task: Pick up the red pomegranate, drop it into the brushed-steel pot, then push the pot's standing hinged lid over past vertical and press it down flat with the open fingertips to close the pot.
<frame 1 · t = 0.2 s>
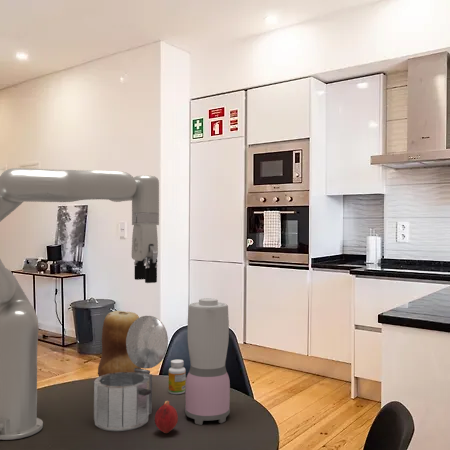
hand: (145, 281, 139), 37 cm above the table, tool pointing down, fingers open, 9 cm apart
lid: (146, 343, 141), point 19 cm above the table, hinge at 100.0°
butternut squash: (119, 391, 158), on the table
pot: (121, 420, 133), on the table
red pomegranate: (166, 433, 125), on the table
blender: (206, 415, 138), on the table
supplement bottle: (176, 392, 157), on the table
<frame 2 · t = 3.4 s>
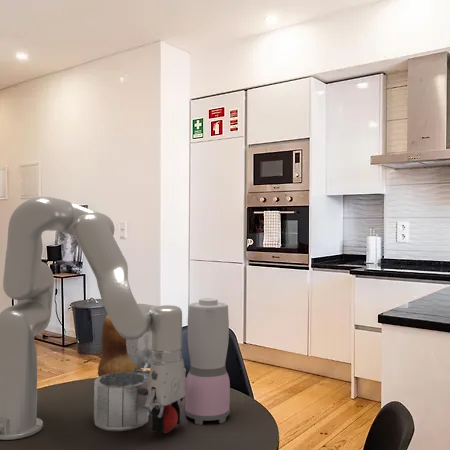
hand: (166, 426, 125), 2 cm above the table, tool pointing down, fingers closed on red pomegranate, 5 cm apart
red pomegranate: (166, 433, 125), on the table, touching gripper
everything else where it was.
when the fingers open (13 cm above the table, at t = 7.2 s): red pomegranate drops 10 cm, resting on pot.
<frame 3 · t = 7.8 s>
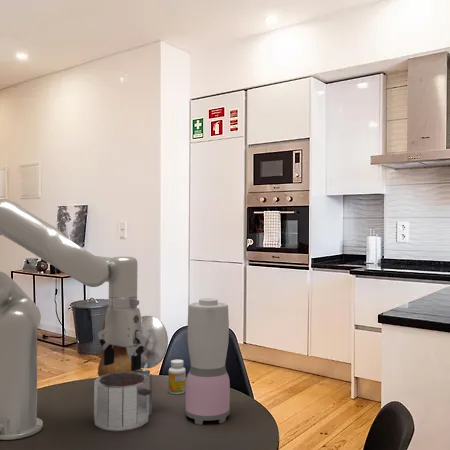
hand: (122, 367, 133), 14 cm above the table, tool pointing down, fingers open, 9 cm apart
red pomegranate: (119, 414, 133), point 2 cm above the table, touching pot
everything else where it was.
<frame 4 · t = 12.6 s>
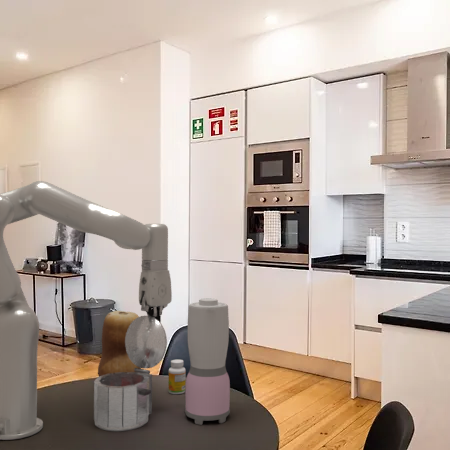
hand: (154, 329, 144), 22 cm above the table, tool pointing down, fingers closed
lid: (145, 343, 141), point 19 cm above the table, hinge at 96.8°, touching gripper
everything else where it was.
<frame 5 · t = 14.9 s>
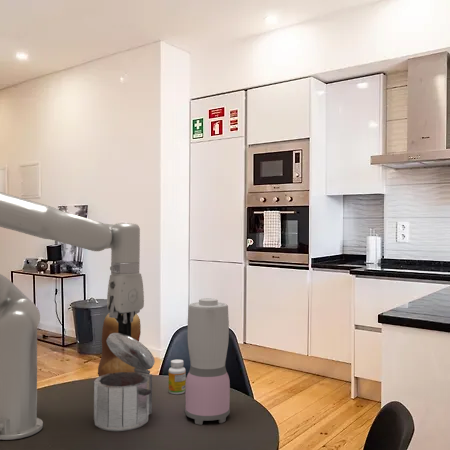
hand: (124, 337, 134), 22 cm above the table, tool pointing down, fingers closed
lid: (131, 352, 136), point 17 cm above the table, hinge at 49.7°, touching gripper
everything else where it was.
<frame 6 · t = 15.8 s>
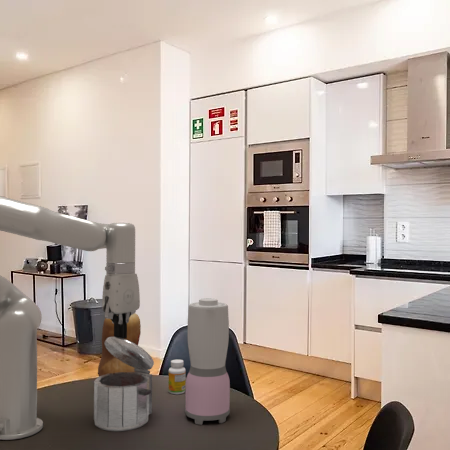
hand: (120, 338, 132), 22 cm above the table, tool pointing down, fingers closed
lid: (130, 354, 136), point 17 cm above the table, hinge at 44.9°, touching gripper
everything else where it was.
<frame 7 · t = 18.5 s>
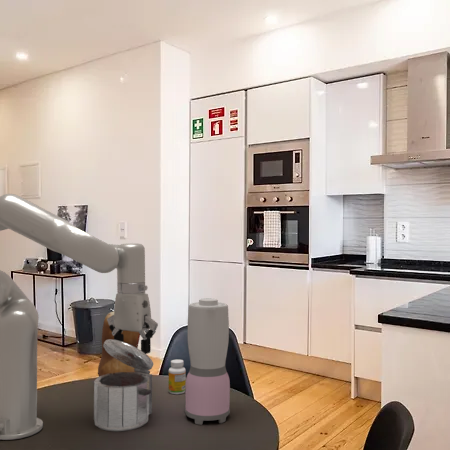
hand: (132, 351, 136), 18 cm above the table, tool pointing down, fingers open, 9 cm apart
lid: (129, 356, 135), point 17 cm above the table, hinge at 41.5°
everything else where it was.
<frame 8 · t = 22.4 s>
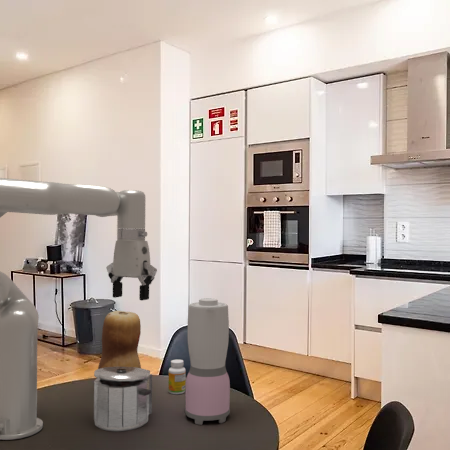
hand: (130, 298, 136), 32 cm above the table, tool pointing down, fingers open, 9 cm apart
lid: (123, 373, 133), point 13 cm above the table, hinge at 5.3°
everything else where it was.
at the end: lid at +5° (first picture: +100°); red pomegranate inside the target area on the pot (0.8 cm from its centre), point 1.5 cm above the pot's base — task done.
